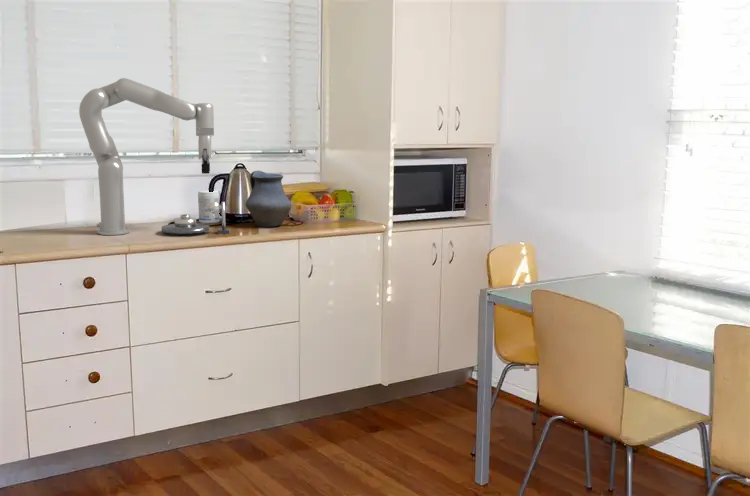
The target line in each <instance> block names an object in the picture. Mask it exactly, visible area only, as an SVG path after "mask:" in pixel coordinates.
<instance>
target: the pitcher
mask: <svg viewBox="0 0 750 496" xmlns="http://www.w3.org/2000/svg"><path fill="white" fill-rule="evenodd" d="M283 178H284V175H283V174H282V173H269V172H265V171H262V170H254V171H252V172H251V174H250V178H249V183H250V187H251V192H250V194H249V196H248V198H247V199H246V201H245V203H244V205H245V208H246V209H247V211H248V212H249V214H250V215H251V217H252V220H253V221H254V222H255V224H256V226H257V227H261V228H274V227H279V226H282V224H284V221H285V220H286V218H287V216H288V215H289V213H290V211H291V209H292V203H291V201H290V199H289V197H288V196H287V194H286V193H285V190H284V187H283V184H282V180H283Z"/></svg>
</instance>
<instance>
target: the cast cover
mask: <svg viewBox="0 0 750 496" xmlns="http://www.w3.org/2000/svg"><path fill="white" fill-rule="evenodd" d="M174 224H175V226H177V227H193V226H196V224H197V218H196V217H193V216H192V217H191V215H190V214H180V217H176V218H174Z"/></svg>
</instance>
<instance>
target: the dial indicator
mask: <svg viewBox="0 0 750 496" xmlns="http://www.w3.org/2000/svg"><path fill="white" fill-rule="evenodd" d="M208 210H209V211H210V212H211V213H213V223H212V225H215V224H216V223H214V213H216V212H217V211H218V210H219V211H220V210H221V228H217V235H227V234H228V235H230V233H231V228H226V201H221V206H220V204H219V205H218V204H217V203H216V202H211V203H210V204H209V205H208Z"/></svg>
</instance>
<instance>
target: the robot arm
mask: <svg viewBox="0 0 750 496" xmlns="http://www.w3.org/2000/svg"><path fill="white" fill-rule="evenodd" d="M125 101H128V102H130V103H133V104H136V105H139V106H141V107H144V108H145V109H146V108H147V109H150V110H153V111H155V112H161V113H164V114H167V115H169V116H173V117H176V118H178V119H181V120H182V121H185V122H186V121H191V120H195V136H196V137H198V139H197V140H198V146H197V147H198V149H197V150H198V159H199V160H201V174H202V175H203V174H205V175H206V174H210V173H211V172H210V171H211V165H210V164H211V163H210V159H211V157H212V137H214V136H215V127H214V126H215V124H214V123H215V122H214V121H215V120H214V119H215V118H214V114H215V113H214V106H213V104H212V103H207V102H205V103H204V102H203V103H200V102H198V103H191V102H188V101H185V100H183V99H180V98H178V97H174V96H173V95H170V94H167V93H165V92H163V91H161V90H159V89H156V88H153V87H151V86H148V85H145V84H142V83H141V82H137V81H136V80H135V81H134V80H132V79H129V78H126V77H122V78H121V77H120V78H119V79H117V81H115V82H112V83H110V84H107V85H104V86H101V87H99V88H93V89H90V90H89V91H88V92H87V93H86V94H85V95H84V96H83V98H82V99H81V101H80V104H79V109H78V114H79V119H80V122H81V125H82V128H83V130H84V133H85V134H84V135H85V136H86V139H87V141H88V146H89V149H90V150H91V152H92V153H93V157H94V158H95V161H96V163H97V166H98V170H97V172H98V173H97V174H98V175H97V177H98V189H99V191H98V192H99V208H100V222H98V223H96V227H97V228H99V229H98V230H97V234H98V235H103V236H117V235H119V236H120V235H126V234H129V233H130V229H128V228H126V221H125V219H126V218H125V214H126V213H125V197H124V166H123V163H122V160H121V157H120V154H119V152H118V150H117V147H116V144H115V142H114V139H113V137H112V136H111V135H110V134H109V132H108V130H107V126H106V123H105V121H104V118H103V115H102V112H103V110H104V109H107V108H109V107H112V106H115V105H117V104H120V103H122V102H125Z"/></svg>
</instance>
